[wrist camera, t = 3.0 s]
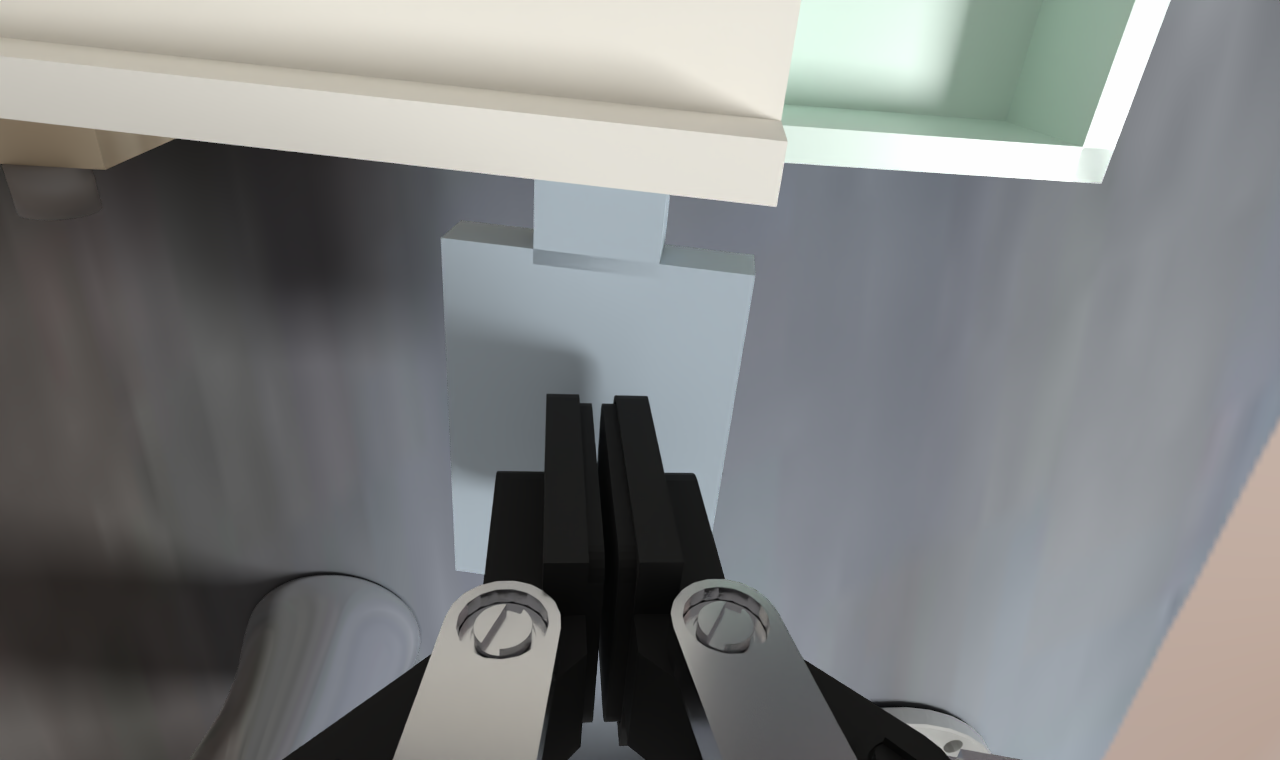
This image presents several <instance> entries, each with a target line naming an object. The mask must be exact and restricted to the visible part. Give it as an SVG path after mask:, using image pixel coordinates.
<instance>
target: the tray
mask: <svg viewBox="0 0 1280 760" xmlns="http://www.w3.org/2000/svg"><path fill="white" fill-rule="evenodd" d="M1169 3H1170V0H801V5H800V11H799V17H798V23H797V29H796V35H795V41H794V47H793V53H792V59H791V65H790V71H789V77H788V83H787V89H786V95H785V101H784V107H783V113H782V119H781V122H782V125H783V128H784V131H785V134H786V138H787V141H788V143H787V149H786V155H785V161H784V163H797V164H812V165H827V166H842V167H858V168H873V169H888V170H903V171H918V172H933V173H949V174H964V175H979V176H994V177H1009V178H1024V179H1040V180H1055V181H1070V182H1085V183H1100V184H1101V183H1102V180H1103V177H1104V175H1105V172H1106V170H1107V167H1108V164H1109V162H1110V159H1111V156H1112V154H1113V151H1114V148H1115V146H1116V143H1117V140H1118V138H1119V135H1120V133H1121V130H1122V127H1123V125H1124V122H1125V119H1126V117H1127V114H1128V111H1129V109H1130V106H1131V103H1132V101H1133V98H1134V95H1135V93H1136V90H1137V88H1138V85H1139V82H1140V80H1141V77H1142V74H1143V72H1144V69H1145V66H1146V64H1147V61H1148V58H1149V56H1150V53H1151V51H1152V48H1153V45H1154V43H1155V40H1156V37H1157V35H1158V32H1159V29H1160V27H1161V24H1162V21H1163V19H1164V16H1165V14H1166V11H1167V8H1168V6H1169Z"/></svg>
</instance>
